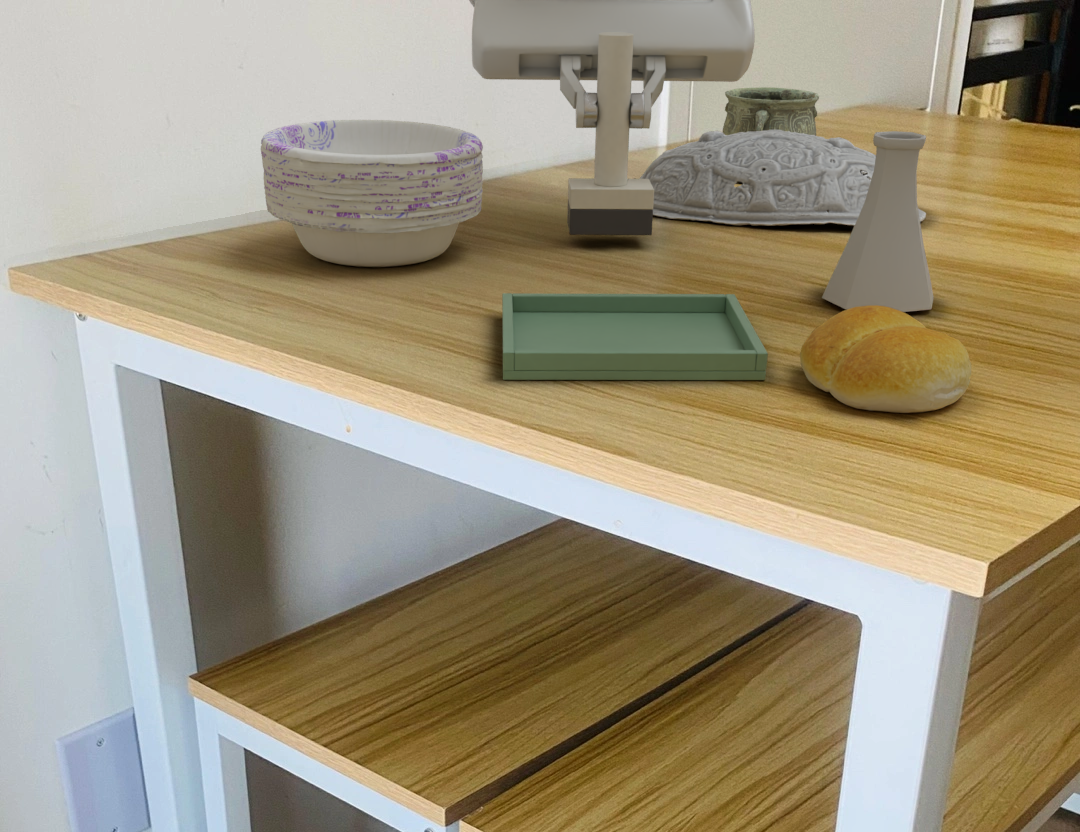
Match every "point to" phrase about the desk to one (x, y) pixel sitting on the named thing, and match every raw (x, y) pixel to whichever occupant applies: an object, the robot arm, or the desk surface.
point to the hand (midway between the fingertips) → (613, 123)
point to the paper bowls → (373, 187)
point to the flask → (886, 236)
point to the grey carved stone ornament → (763, 179)
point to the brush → (611, 155)
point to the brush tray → (629, 337)
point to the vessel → (770, 110)
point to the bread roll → (885, 361)
